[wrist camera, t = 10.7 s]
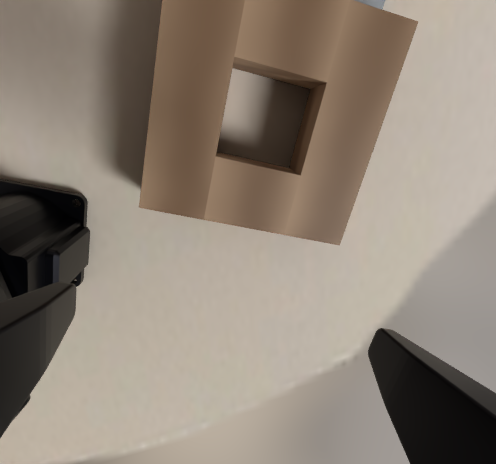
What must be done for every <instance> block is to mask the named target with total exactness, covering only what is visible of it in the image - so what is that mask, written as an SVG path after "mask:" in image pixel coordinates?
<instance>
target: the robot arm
mask: <svg viewBox="0 0 496 464" xmlns="http://www.w3.org/2000/svg"><path fill="white" fill-rule="evenodd" d="M75 199H77V200H79V201H80V203H81V205H77V204H76V203H75ZM86 222H87V199H86V198H85V197H84V196H83V195H81V194H77V193H72V192H67V191H61V190H56V189H51V188H46V187H40V186H35V185H30V184H24V183H19V182H14V181H9V180H3V179H0V438H1V436H2V435H3V433H4V432H5V431H6V429H7V428H8V426H9V425H10V423H11V422H12V421H13V420H14V419H15V417H16V416H17V415H18V414H19V413H20V411H21V410H22V409H23V408H24V407H25V405H26V404H27V403H28V402H29V400H30V393H31V392H32V390H33V389H34V387H35V386H36V384H37V383H38V381H39V380H40V378H41V377H42V375H43V374H44V372H45V371H46V369H47V367H48V365H49V363H50V362H51V360H52V358H53V356H54V354H55V352H56V350H57V348H58V346H59V345H60V343H61V341H62V339H63V337H64V335H65V333H66V331H67V329H68V327H69V325H70V324H71V322H72V320H73V317H74V315H75V309H76V287H77V286H79V285H80V284H81V282H82V281H83V278H84V268H85V267H86V266H87V265H88V258H89V241H90V230H89V229H88V227H86ZM74 278H76V279H77V281H75V280H73V279H74ZM368 356H369V359H370V362H371V365H372V368H373V372H374V374H375V377H376V381H377V383H378V386H379V390H380V393H381V395H382V398H383V401H384V404H385V406H386V409H387V411H388V414H389V416H390V418H391V421H392V423H393V425H394V428H395V430H396V432H397V434H398V437H399V439H400V441H401V444H402V446H403V448H404V450H405V453H406V455H407V457H408V460H409V462H410V464H496V393H494V392H493V391H491V390H490V389H488V388H486V387H484V386H483V385H481V384H480V383H478V382H476V381H475V380H473V379H472V378H470V377H468V376H467V375H465V374H464V373H462V372H460V371H459V370H457V369H455V368H454V367H452V366H450V365H449V364H447V363H445V362H444V361H442V360H440V359H439V358H437V357H436V356H434V355H432V354H431V353H429V352H428V351H426V350H424V349H423V348H421V347H419V346H418V345H416V344H414V343H413V342H411V341H410V340H408V339H406V338H405V337H403V336H401V335H400V334H398V333H397V332H395V331H393V330H390V329H384V328H380V329H378V330H377V331H376V333H375V335H374V338H373V340H372V342H371V344H370V347H369V350H368Z"/></svg>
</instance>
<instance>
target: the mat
mask: <svg viewBox="0 0 496 464" xmlns="http://www.w3.org/2000/svg"><path fill="white" fill-rule="evenodd" d="M354 1H357V2H360V3H363V4H366V5H369V6H372V7H375V8H378V9H381V10H382V9H383V6H384V2H385V0H354Z"/></svg>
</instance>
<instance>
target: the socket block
mask: <svg viewBox="0 0 496 464" xmlns="http://www.w3.org/2000/svg"><path fill="white" fill-rule="evenodd" d="M417 24H418V21H415V20H412V19H409V18H406V17H403V16H400V15H397V14H394V13H391V12H388V11H384V10H381V9H378V8H375V7H372V6H369V5H366V4H363V3H360V2H357V1H354V0H162V7H161V16H160V25H159V33H158V42H157V51H156V60H155V69H154V78H153V87H152V96H151V105H150V114H149V123H148V132H147V141H146V150H145V159H144V167H143V176H142V185H141V194H140V203H139V208H144V209H150V210H155V211H160V212H165V213H171V214H176V215H181V216H187V217H192V218H197V219H203V220H208V221H213V222H219V223H224V224H229V225H234V226H240V227H245V228H250V229H256V230H261V231H266V232H272V233H277V234H282V235H288V236H293V237H298V238H303V239H309V240H314V241H319V242H325V243H330V244H335V245H340V243H341V240H342V237H343V234H344V231H345V228H346V226H347V223H348V220H349V217H350V214H351V211H352V209H353V206H354V203H355V200H356V197H357V194H358V192H359V189H360V186H361V183H362V180H363V177H364V175H365V172H366V169H367V166H368V163H369V160H370V157H371V155H372V152H373V149H374V146H375V143H376V140H377V138H378V135H379V132H380V129H381V126H382V123H383V121H384V118H385V115H386V112H387V109H388V106H389V104H390V101H391V98H392V95H393V92H394V89H395V87H396V84H397V81H398V78H399V75H400V72H401V70H402V67H403V64H404V61H405V58H406V55H407V52H408V50H409V47H410V44H411V41H412V38H413V35H414V33H415V30H416V27H417ZM232 68H235V69H239V70H242V71H246V72H250V73H253V74H257V75H261V76H264V77H268V78H272V79H275V80H279V81H283V82H286V83H290V84H294V85H297V86H301V87H305V88H308V89H310V92H309V96H308V99H307V103H306V107H305V110H304V114H303V118H302V122H301V125H300V129H299V133H298V137H297V140H296V144H295V148H294V151H293V155H292V159H291V163H290V166H289V168H287V167H282V166H278V165H273V164H269V163H265V162H260V161H256V160H251V159H247V158H242V157H238V156H234V155H229V154H225V153H220V152H217V147H218V141H219V136H220V131H221V125H222V120H223V115H224V109H225V104H226V99H227V93H228V88H229V83H230V77H231V72H232Z"/></svg>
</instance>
